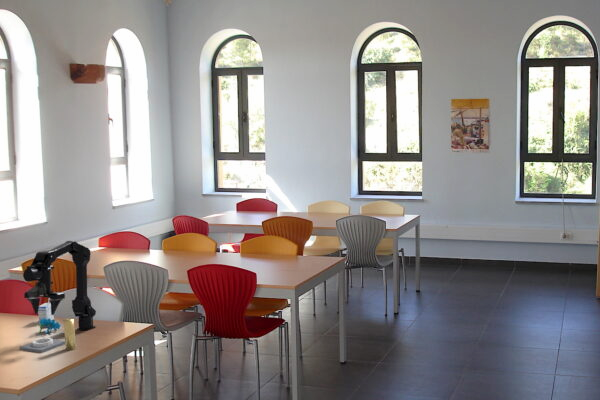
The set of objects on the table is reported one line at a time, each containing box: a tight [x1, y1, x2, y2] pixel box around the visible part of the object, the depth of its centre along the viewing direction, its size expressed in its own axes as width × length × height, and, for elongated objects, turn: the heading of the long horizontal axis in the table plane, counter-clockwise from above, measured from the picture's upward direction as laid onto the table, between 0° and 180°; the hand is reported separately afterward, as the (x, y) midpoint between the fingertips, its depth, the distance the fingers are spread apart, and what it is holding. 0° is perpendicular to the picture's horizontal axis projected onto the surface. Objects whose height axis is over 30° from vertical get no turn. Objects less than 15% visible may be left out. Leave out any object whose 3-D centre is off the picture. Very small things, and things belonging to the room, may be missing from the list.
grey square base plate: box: [19, 337, 65, 353], centre depth 347 cm, size 14×14×3 cm
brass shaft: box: [63, 318, 77, 351], centre depth 341 cm, size 4×4×13 cm
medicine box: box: [37, 302, 55, 323], centre depth 392 cm, size 8×4×9 cm, turn 172°
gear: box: [38, 318, 62, 335], centre depth 371 cm, size 11×6×10 cm
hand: (44, 314), depth 348 cm, fingers open, 9 cm apart
